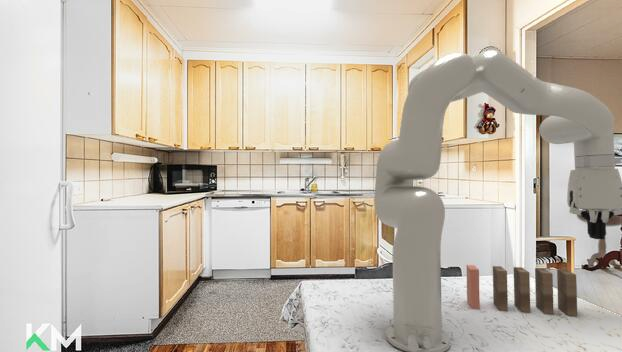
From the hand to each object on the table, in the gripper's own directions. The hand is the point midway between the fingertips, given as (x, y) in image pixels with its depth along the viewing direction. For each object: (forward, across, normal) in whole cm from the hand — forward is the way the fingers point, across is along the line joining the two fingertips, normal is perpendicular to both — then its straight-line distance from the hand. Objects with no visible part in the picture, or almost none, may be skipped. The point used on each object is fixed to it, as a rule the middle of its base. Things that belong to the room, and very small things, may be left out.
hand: (596, 238), depth 82 cm
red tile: (+18, +28, 0) cm, 34 cm away
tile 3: (+18, +17, 0) cm, 25 cm away
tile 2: (+18, +12, 0) cm, 22 cm away
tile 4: (+18, +22, 0) cm, 29 cm away
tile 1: (+18, +7, 0) cm, 20 cm away
